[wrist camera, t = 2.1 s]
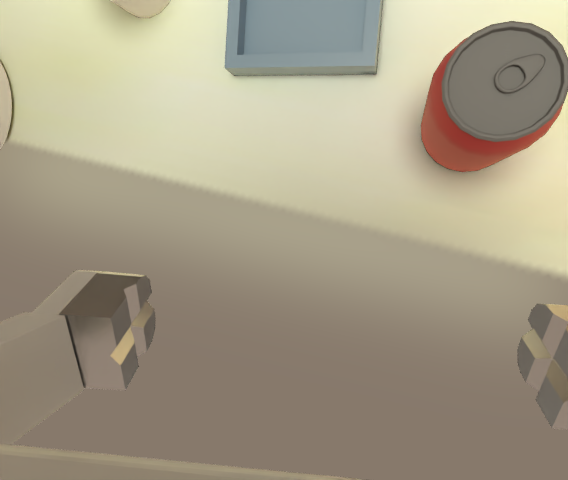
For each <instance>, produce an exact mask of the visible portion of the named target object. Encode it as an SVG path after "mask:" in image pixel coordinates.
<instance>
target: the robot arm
mask: <svg viewBox="0 0 568 480" xmlns="http://www.w3.org/2000/svg"><path fill="white" fill-rule="evenodd" d="M11 115H12V98H11V90H10V85H9V81H8V78H7V75H6V72H5V70H4V68H3V66H2V64H1V62H0V150H1V149H2V147H3V145H4V143H5V140H6V138H7V135H8V131H9V128H10V123H11ZM151 293H152V291H151V286H150V280H149V279H148V277H147V276H146V275H135V274H125V273H114V272H103V271H102V272H100V271H91V270H77V271H74V272H73V273H72V274H71V275H70V276H69V277H68V278H67V279H66V280H65V281H64V282H63V283H61V284H60V285H59V286H58V287H57V288H56V289H55V290H54V291H53V292H52V293H51V294H50V295H49V296H48V297H47V298H46V299H45V300H44V301H43V302H42V303H41V304H40V305H39V306H38V307H37V308H36V309H35V310H34V311H33V312H32V313H27V312H23V313H21V314H19V315H16V316H13V317H11V318H9V319H6V320H4V321H1V322H0V480H367V479H356V478H346V477H335V476H326V475H315V474H305V473H295V472H285V471H275V470H264V469H254V468H243V467H233V466H224V465H213V464H203V463H193V462H183V461H172V460H162V459H152V458H141V457H132V456H122V455H112V454H111V455H110V454H101V453H91V452H81V451H71V450H61V449H49V448H40V447H30V446H20V445H11V444H12V443H14V442H15V441H17V440H18V439H19V438H21V437H22V436H23V435H25V434H26V433H27V432H29V431H30V430H31V429H33V428H34V427H36V426H37V425H38V424H39V423H41V422H42V421H44V420H45V419H46V418H48V417H49V416H50V415H52V414H53V413H54V412H55V411H57V410H58V409H60V408H61V407H62V406H64V405H65V404H66V403H68V402H69V401H70V400H72V399H73V398H74V397H76V396H77V395H78V394H80V393H81V392H83V391H84V388H93V389H110V390H111V389H112V390H126V389H127V387H128V385H129V383H130V381H131V379H132V378H133V376H134V374H135V372H136V370H137V369H138V367H139V365H138V359H137V357H138V356H140V355H142V354H143V353H145V352H146V351H147V350H148V348H149V346H150V344H151V342H152V339H153V335H154V330H155V312H154V308H153V307H152V306H151V305H150V304H149V303H148V302H147V299H148V297H149V296H150V294H151ZM528 321H529V323H530V325H531V327H532V330H530V331H529V332H528V333H526V334H525V335H524V336H522V337H521V340H520V343H519V347H518V366H519V369H520V373H521V374H522V376H523V378H524V380H525V382H526V383H527V384H529V385H530V386H532V387H533V388H534V389H536V390H537V391H538V395H537V397H536V401H537V403H538V405H539V407H540V408H541V410H542V412H543V413H544V415H545V417H546V419H547V420H548V422H549V424H550V426H551V427H552V428H556V429H565V430H568V305H553V304H537V305H536V306H535V307H534V308H533V309H532V311H531V313H530V316H529V319H528Z"/></svg>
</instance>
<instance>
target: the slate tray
mask: <svg viewBox="0 0 568 480" xmlns="http://www.w3.org/2000/svg"><path fill="white" fill-rule="evenodd" d="M382 6H383V0H229V1H228V19H227V37H226V54H225V69H227V70H228V71H229V72H230V73H232V74H233V75H234V76H235V75H335V74H376V73H377V62H378V50H379V39H380V28H381V17H382Z"/></svg>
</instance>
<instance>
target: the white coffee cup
mask: <svg viewBox="0 0 568 480" xmlns="http://www.w3.org/2000/svg"><path fill="white" fill-rule="evenodd" d="M110 1H112V2H113V3H115V4H116V5H118V6H120V7H121V8H123V9H124V10H126V11H127V12H129V13H131V14H133V15H135V16H136V17H138V18H150V17H152V16H154V15H157V14H159V13H160V12H161V11H162V10H163V9H164V8H165V7H166V6H167V5H168V4H169V2H170V0H110Z"/></svg>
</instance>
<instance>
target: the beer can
mask: <svg viewBox="0 0 568 480" xmlns="http://www.w3.org/2000/svg"><path fill="white" fill-rule="evenodd" d="M567 92H568V58H567V55H566V53H565V50H564V48H563V46H562V45H561V44H560V43H559V42H558V41H557V39H556V38H555V37H554V36H553V35H552V34H551V33H550V32H548V31H546V30H544V29H542V28H540V27H538V26H536V25H534V24H531V23H523V22H515V21H509V22H504V23H498V24H492V25H490V26H488V27H485V28H483V29H481V30H479V31H477V32H475V33H473V34H472V35H471V36H469V37H468V38H466V39H464V40H463V41H462V42H461V43H459V44H458V45H457V46H456V47H455V48H454V49H453V50H452V51H450V52H449V53H448V54H447V55H446V56H445V57H444V58H443V60H442V62H441V63H440V65H439V66H438V68H437V69H436V71H435V73H434V74H433V78H432V82H431V85H430V89H429V92H428V97H427V101H426V105H425V110H424V114H423V119H422V123H421V135H422V141H423V143H424V146H425V148H426V151H427V152H428V153H429V155H430V156H431V157H432V158H433V159H434V160H435V161H436V162H437V163H439V164H440V165H442V166H444V167H446V168H447V169H451V170H456V171H461V172H466V171H477V170H480V169H483V168H485V167H488V166H490V165H493V164H495V163H497V162H499V161H501V160H503V159H505V158H507V157H509V156H511V155H513V154H515V153H517V152H519V151H521V150H523V149H525V148H528V147H529V146H530V145H532V144H533V143H534V142H535V141H537V140H538V139H539V138H541V137H542V136H543V135H545V134H546V133H547V131H548V130H549V128H550V127H551V126H552V124H553V123H554V121H555V120H556V119H557V117H558V116H559V114H560V112H561V109H562V106H563V103H564V101H565V98H566V95H567Z"/></svg>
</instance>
